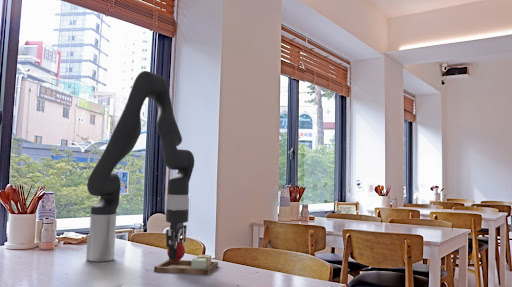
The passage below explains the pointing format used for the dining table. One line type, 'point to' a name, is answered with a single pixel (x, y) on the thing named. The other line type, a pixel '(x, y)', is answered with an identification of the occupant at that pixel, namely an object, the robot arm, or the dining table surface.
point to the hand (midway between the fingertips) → (175, 257)
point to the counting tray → (183, 267)
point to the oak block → (206, 258)
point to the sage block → (199, 263)
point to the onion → (178, 252)
